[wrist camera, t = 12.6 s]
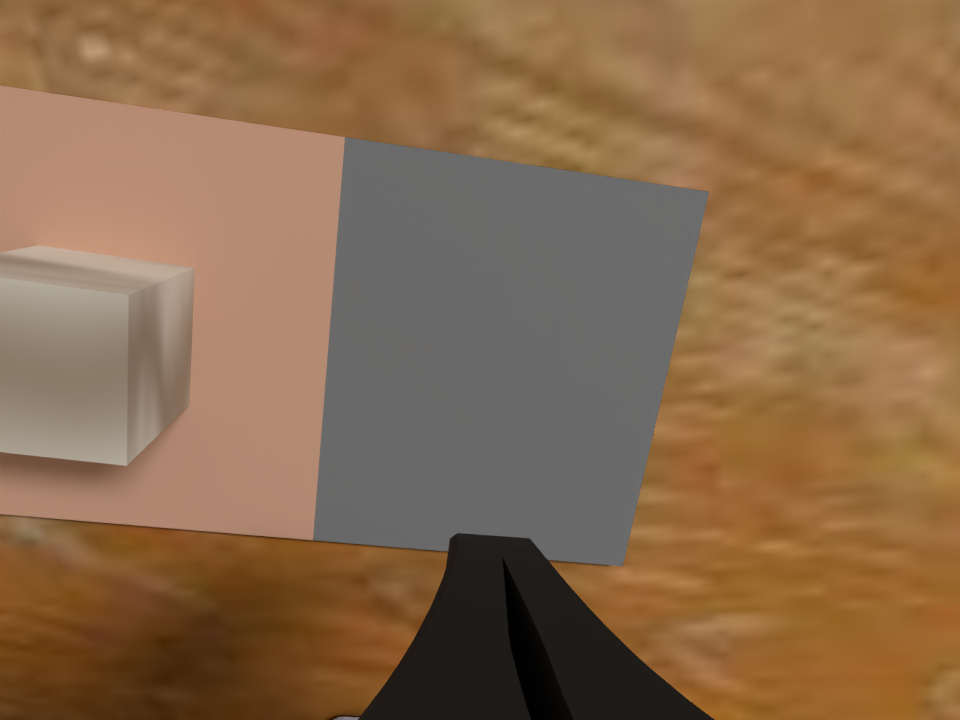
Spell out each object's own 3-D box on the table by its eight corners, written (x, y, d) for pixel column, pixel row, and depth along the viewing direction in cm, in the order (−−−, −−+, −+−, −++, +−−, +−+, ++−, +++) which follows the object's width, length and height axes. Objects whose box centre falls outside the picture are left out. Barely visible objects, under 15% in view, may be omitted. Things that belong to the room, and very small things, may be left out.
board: (618, 557, 22) (622, 566, 21) (-92, 496, 19) (-105, 505, 19) (701, 191, 18) (708, 192, 18) (-140, 65, 16) (-158, 62, 16)
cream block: (189, 404, 19) (127, 466, 15) (42, 387, 18) (-62, 445, 14) (194, 267, 18) (128, 295, 14) (38, 245, 17) (-76, 267, 13)
